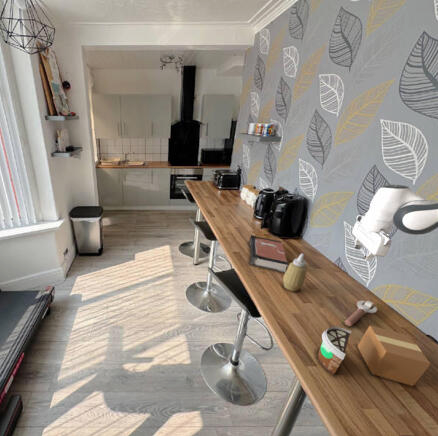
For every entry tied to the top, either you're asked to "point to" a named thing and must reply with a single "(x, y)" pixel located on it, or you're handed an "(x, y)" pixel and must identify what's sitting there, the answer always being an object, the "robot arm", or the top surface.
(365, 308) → the pizza cutter
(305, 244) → the top surface
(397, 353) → the carton
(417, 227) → the robot arm
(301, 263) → the squeeze bottle
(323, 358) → the food container
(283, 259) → the book
